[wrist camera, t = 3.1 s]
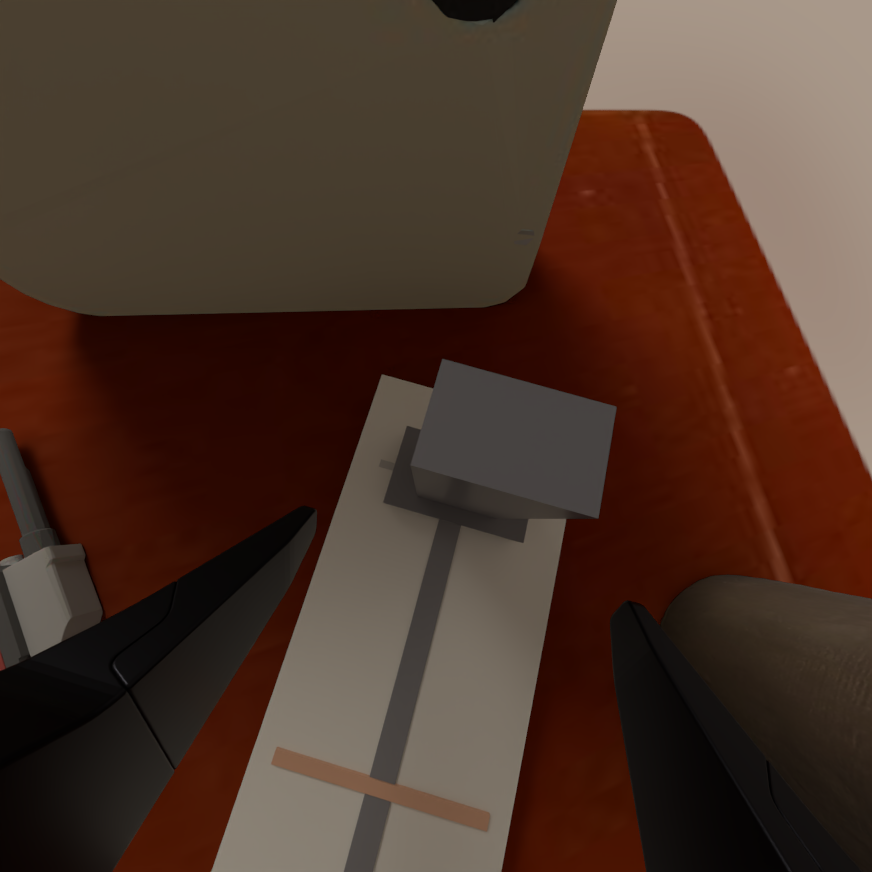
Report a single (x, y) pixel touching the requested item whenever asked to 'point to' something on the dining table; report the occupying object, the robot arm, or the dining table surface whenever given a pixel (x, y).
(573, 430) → the fader handle
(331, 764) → the fader console
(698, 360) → the dining table surface
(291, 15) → the radio
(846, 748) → the pillar candle
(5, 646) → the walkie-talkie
